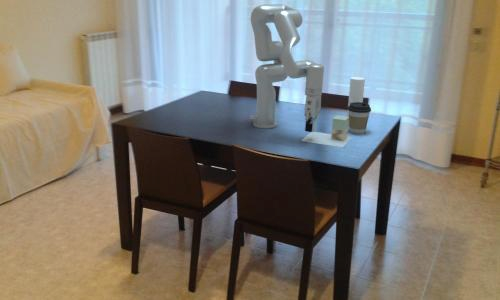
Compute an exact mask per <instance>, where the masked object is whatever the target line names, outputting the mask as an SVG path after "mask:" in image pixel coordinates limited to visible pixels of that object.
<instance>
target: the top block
mask: <svg viewBox="0 0 500 300" xmlns="http://www.w3.org/2000/svg"><path fill="white" fill-rule="evenodd" d="M348 122H349V117H347V116H345V115H335V116H334V117H333V118H332V124H331V130H332V129H336V130H343V131H345V130H346V129H347V128H348V129H349V127H348Z"/></svg>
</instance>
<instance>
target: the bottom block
mask: <svg viewBox="0 0 500 300" xmlns="http://www.w3.org/2000/svg"><path fill="white" fill-rule="evenodd" d="M348 130H349V127H348V128H347V129H346V130H345V131H343V130H336V129H332V128H331V134H332V137H331V139H334V140H341V141H344V140H345V139H346V138H347V137H348V132H349V131H348Z"/></svg>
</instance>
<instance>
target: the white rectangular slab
mask: <svg viewBox="0 0 500 300" xmlns="http://www.w3.org/2000/svg"><path fill="white" fill-rule="evenodd" d="M331 137H332V133H325V132H319V131H315V132H308V133H307V135H306V136H304V137H303V138H301V140H300V141H301V142H306V143H313V144H319V145H324V146H331V147H337V148H344V147H345V146H346V145H347V144H348V142H350V141H351V139H352V136H347V138H346V139H345V140H344V141H341V140H334V139H331Z"/></svg>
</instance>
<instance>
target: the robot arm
mask: <svg viewBox="0 0 500 300" xmlns="http://www.w3.org/2000/svg"><path fill="white" fill-rule="evenodd" d="M250 23H251V27H252V31H253V37H254V38H253V39H254V47H255V55H256V59H257V60H258V61H260V62H272V61H273V63H266V64H261V65H259V66H258V67H257V68H256V69H255V71H254V76H255V82H256V115H252V114H250V115H249V119H250V121H253V123H252V125H253V127H255V128H257V129H265V130H267V129H274V128H276V127H278V126H279V125H278V124H279V123H278V121H276V94H277V93H276V88H275V86H274V85H273V83H281V82H284V81H286V80H287V78H288V77H289V78H290V79H301V78H305V91H304V95H305V96H306V97H305V103H304V112H303V113H304V116H305V117H304V120H305V126H304V127H305V128H304V131H305V132H308V133H310V132H312V126H313V124H312V120H313V118H315V117H316V118H317V119H318V116H319V115H320V114H321V112H322V111H321V110H322V108H321V106H322V94H323V83H324V73H325V67H324V65H323V64H321V63H316V62H314V61H313V60H310V59H304V60H297V61H296V60H295V59H294V58H293V53H292V48H294V47H295V46H297V44H299V42H300V41H301V36H300V34H299V31H298V29H297V28H300V27H301V26H302V24H303V15H302V14H301V12H300V11H299V10H298V9H295V8H293V7H290V6H287V5H285V4H279V3H278V4H275V3H274V4H261V5H256V6H255V7H254V8H253V9H252V11H251V14H250ZM267 23H268V24H272V23H273V24H274V26H275V29H276V32H277V33H278V36H279V38H280V40H281V41H280V40H273V37H272V30H271V29H270V27H269V25H267ZM309 116H311V117H309ZM309 118H311V121H310V119H309Z"/></svg>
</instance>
